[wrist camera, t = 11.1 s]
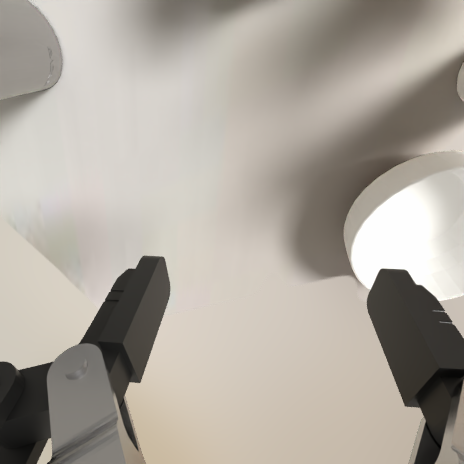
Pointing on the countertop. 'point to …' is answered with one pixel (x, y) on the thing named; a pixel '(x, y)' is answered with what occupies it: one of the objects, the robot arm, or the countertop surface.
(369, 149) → the countertop surface
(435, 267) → the bowl
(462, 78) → the cylindrical container
